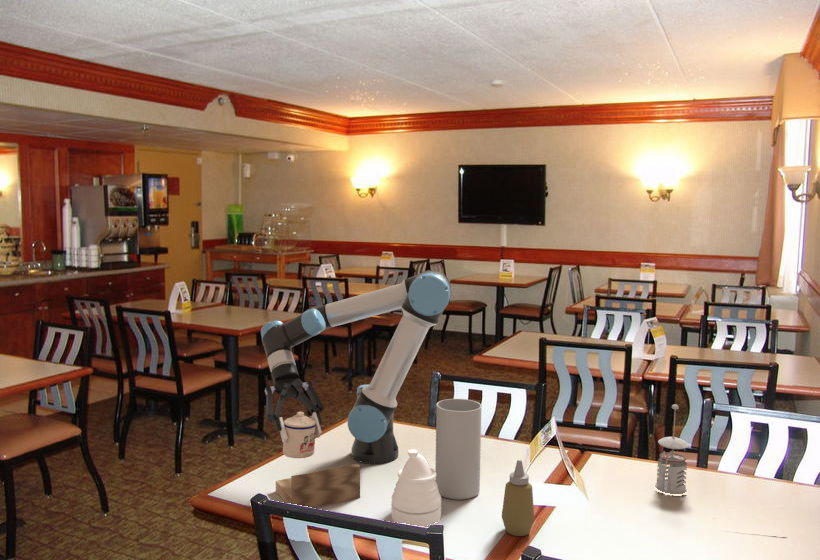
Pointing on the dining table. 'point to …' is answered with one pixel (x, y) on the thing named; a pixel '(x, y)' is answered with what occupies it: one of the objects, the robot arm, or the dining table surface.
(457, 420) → the cylinder vase
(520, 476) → the squeeze bottle
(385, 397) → the robot arm
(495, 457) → the dining table surface
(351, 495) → the cleat board
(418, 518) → the honey pot
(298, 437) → the teacup with lid
